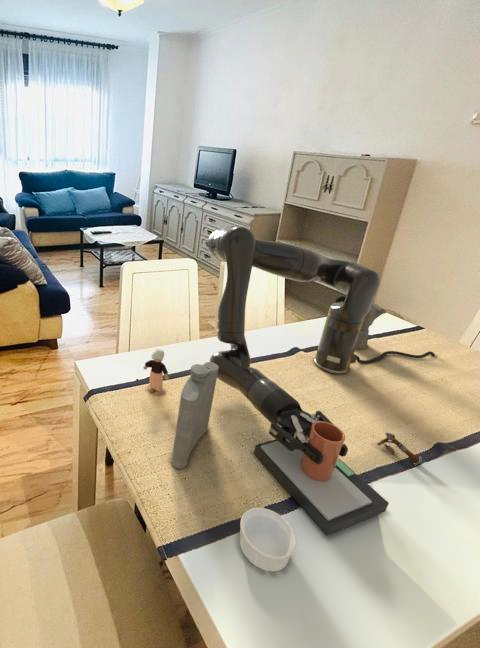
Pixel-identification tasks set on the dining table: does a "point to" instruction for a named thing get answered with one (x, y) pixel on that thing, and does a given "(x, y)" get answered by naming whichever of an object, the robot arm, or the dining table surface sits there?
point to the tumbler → (323, 450)
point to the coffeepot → (365, 323)
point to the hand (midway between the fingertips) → (333, 456)
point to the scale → (322, 489)
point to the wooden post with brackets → (401, 447)
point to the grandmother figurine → (157, 372)
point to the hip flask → (194, 411)
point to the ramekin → (266, 539)
